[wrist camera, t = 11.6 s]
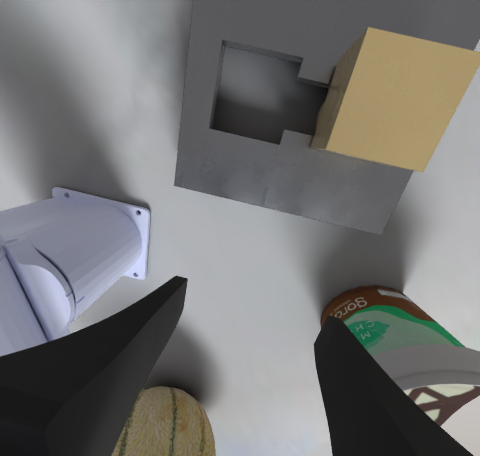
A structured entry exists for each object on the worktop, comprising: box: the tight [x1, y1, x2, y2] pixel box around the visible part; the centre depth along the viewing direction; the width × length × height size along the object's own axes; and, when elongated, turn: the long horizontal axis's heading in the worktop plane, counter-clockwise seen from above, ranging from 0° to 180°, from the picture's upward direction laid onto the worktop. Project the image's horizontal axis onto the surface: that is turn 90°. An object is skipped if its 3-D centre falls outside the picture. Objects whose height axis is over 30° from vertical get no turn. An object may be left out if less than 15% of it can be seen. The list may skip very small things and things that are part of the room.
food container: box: [321, 285, 480, 426], centre depth 18 cm, size 12×6×10 cm, turn 151°
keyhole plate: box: [174, 0, 480, 235], centre depth 16 cm, size 16×14×3 cm
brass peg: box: [311, 27, 480, 172], centre depth 13 cm, size 5×5×8 cm
